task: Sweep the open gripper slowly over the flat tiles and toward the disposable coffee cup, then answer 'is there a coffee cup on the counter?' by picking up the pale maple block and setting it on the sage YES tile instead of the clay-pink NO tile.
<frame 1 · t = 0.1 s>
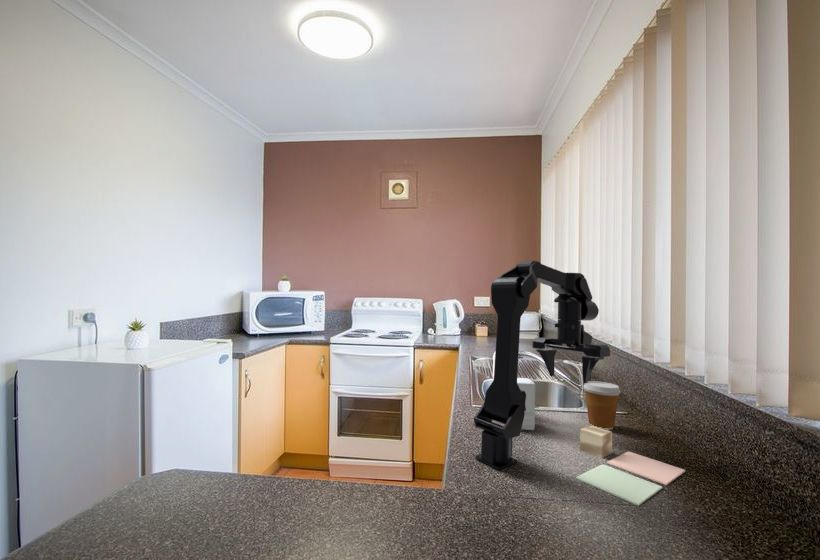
hand: (568, 379, 94), 15 cm above the worktop, fingers open, 9 cm apart
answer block: (595, 452, 84), on the worktop
supplement box: (518, 426, 100), on the worktop
disposable coffee cup: (601, 427, 102), on the worktop
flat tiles: (632, 474, 72), on the worktop
water bottle: (502, 413, 111), on the worktop
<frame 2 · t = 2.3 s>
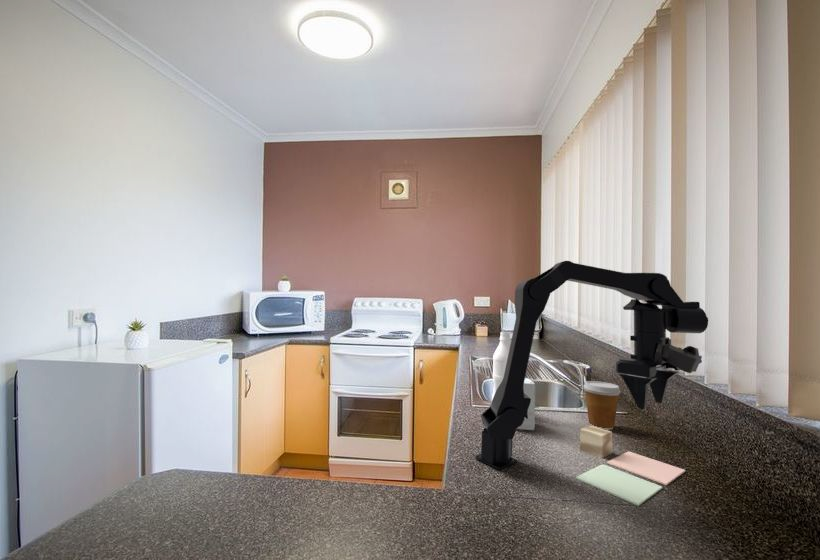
hand: (650, 405, 76), 13 cm above the worktop, fingers open, 9 cm apart
nothing on the worktop moved.
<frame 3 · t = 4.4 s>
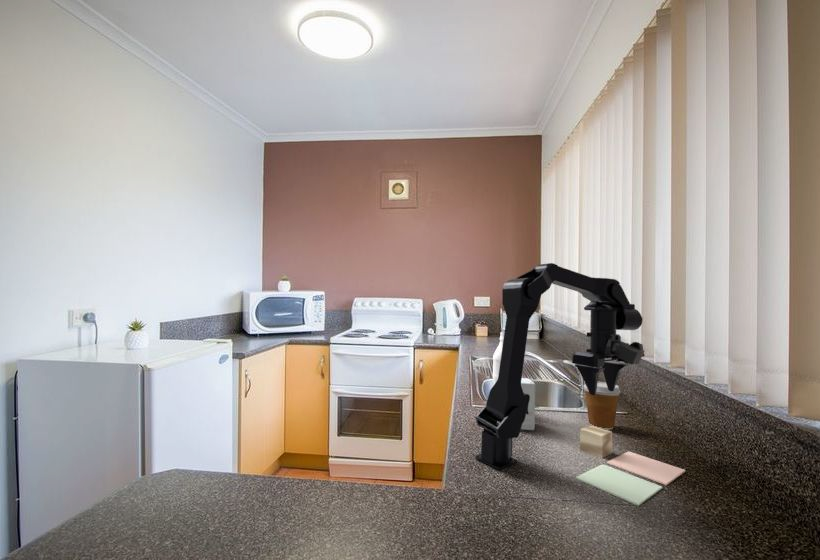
hand: (602, 393, 88), 13 cm above the worktop, fingers open, 9 cm apart
nothing on the worktop moved.
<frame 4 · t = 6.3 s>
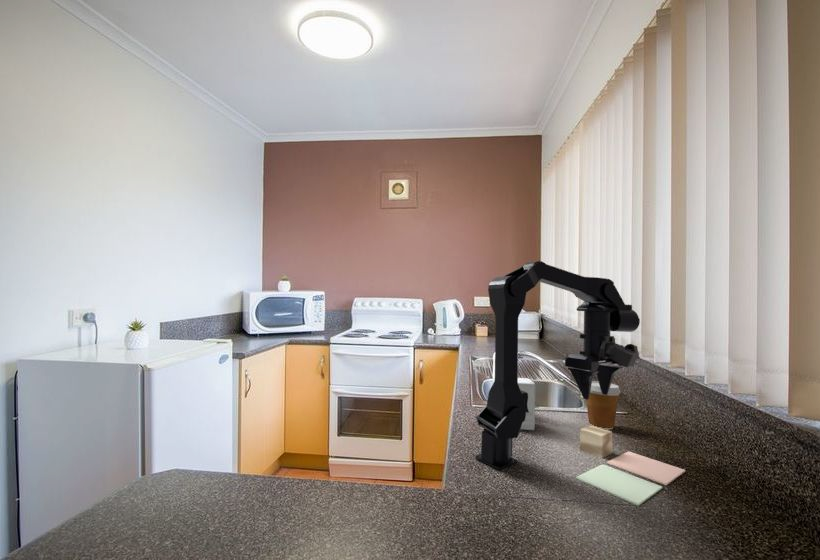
hand: (595, 396, 85), 13 cm above the worktop, fingers open, 9 cm apart
nothing on the worktop moved.
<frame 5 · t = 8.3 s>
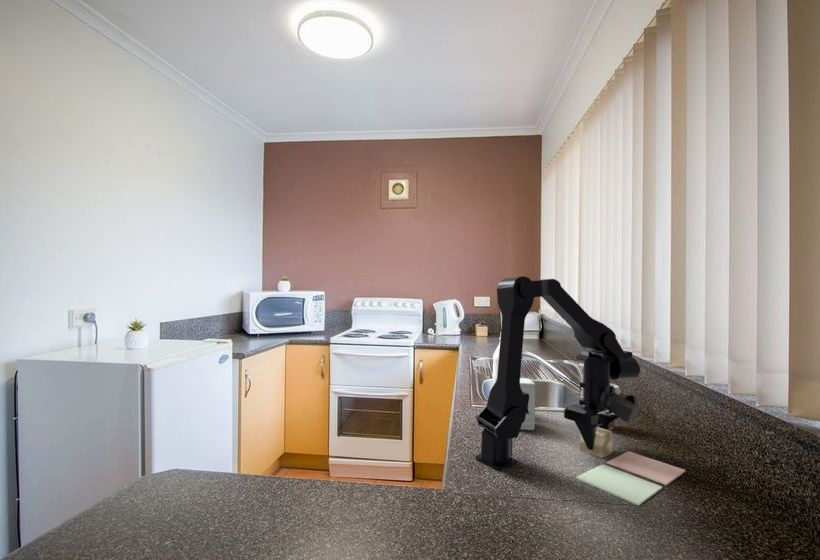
hand: (595, 447, 84), 1 cm above the worktop, fingers closed on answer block, 5 cm apart
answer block: (595, 451, 84), on the worktop, touching gripper
everything else where it was.
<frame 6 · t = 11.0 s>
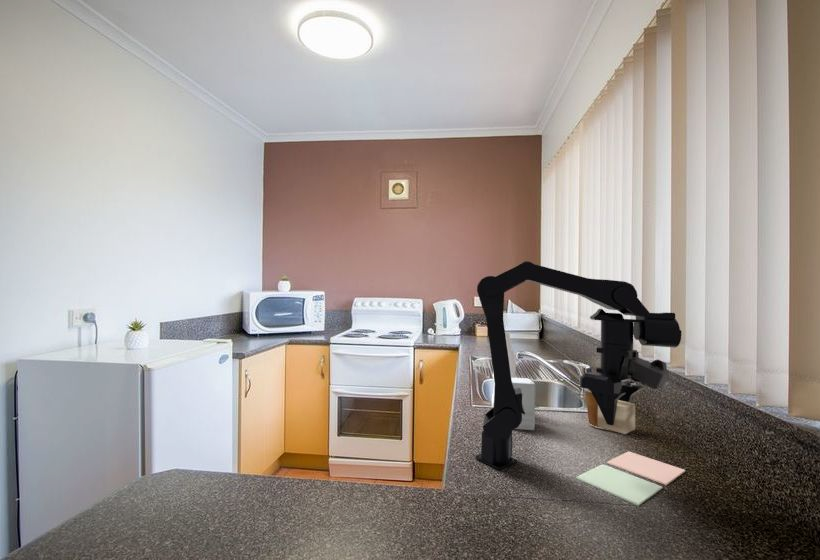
hand: (615, 422, 71), 11 cm above the worktop, fingers closed on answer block, 5 cm apart
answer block: (616, 427, 71), point 10 cm above the worktop, touching gripper
everything else where it was.
when the fingers open (2 cm above the worktop, at t = 13.6 s): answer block drops 1 cm, resting on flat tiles.
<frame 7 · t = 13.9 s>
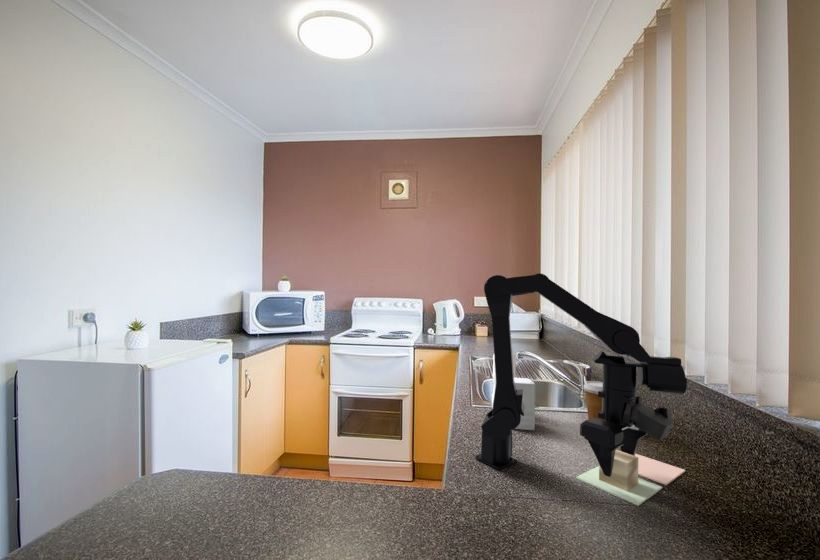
hand: (618, 470, 69), 2 cm above the worktop, fingers open, 9 cm apart
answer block: (618, 481, 69), resting on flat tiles
everything else where it was.
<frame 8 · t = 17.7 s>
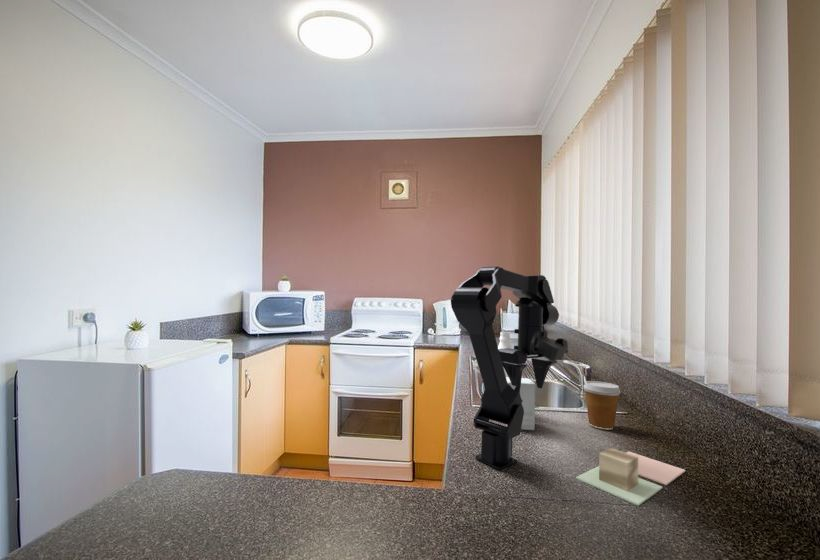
hand: (528, 390, 87), 13 cm above the worktop, fingers open, 9 cm apart
nothing on the worktop moved.
at the end: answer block inside the target area (0.0 cm from its centre), resting on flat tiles; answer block tilted 0°; the gripper is holding nothing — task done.
